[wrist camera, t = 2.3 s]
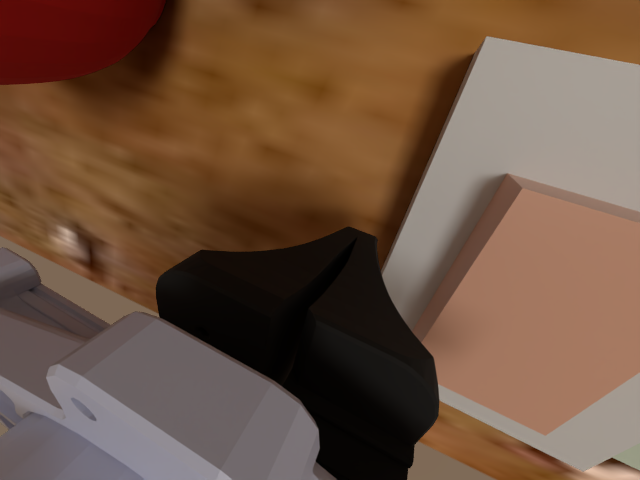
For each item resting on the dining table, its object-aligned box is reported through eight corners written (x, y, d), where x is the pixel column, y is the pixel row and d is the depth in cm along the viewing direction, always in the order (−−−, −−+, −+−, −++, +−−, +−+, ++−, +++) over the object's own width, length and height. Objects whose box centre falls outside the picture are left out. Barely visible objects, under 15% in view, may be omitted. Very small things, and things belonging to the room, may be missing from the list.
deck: (359, 321, 19) (347, 354, 16) (474, 52, 10) (486, 36, 8) (560, 414, 16) (583, 471, 13) (940, 146, 8) (1184, 166, 5)
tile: (408, 336, 14) (404, 367, 12) (507, 173, 9) (522, 188, 8) (531, 392, 13) (545, 435, 11) (718, 234, 8) (793, 269, 6)
